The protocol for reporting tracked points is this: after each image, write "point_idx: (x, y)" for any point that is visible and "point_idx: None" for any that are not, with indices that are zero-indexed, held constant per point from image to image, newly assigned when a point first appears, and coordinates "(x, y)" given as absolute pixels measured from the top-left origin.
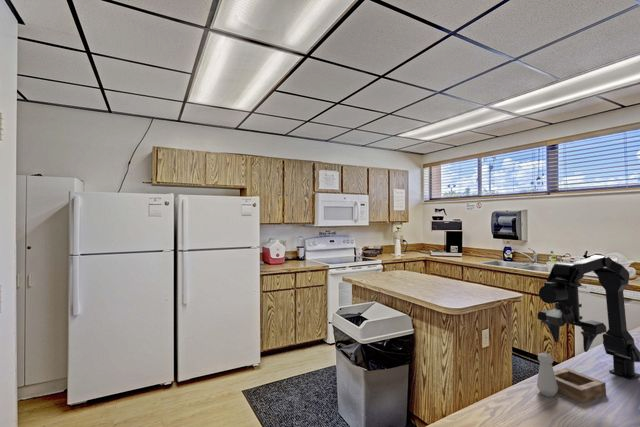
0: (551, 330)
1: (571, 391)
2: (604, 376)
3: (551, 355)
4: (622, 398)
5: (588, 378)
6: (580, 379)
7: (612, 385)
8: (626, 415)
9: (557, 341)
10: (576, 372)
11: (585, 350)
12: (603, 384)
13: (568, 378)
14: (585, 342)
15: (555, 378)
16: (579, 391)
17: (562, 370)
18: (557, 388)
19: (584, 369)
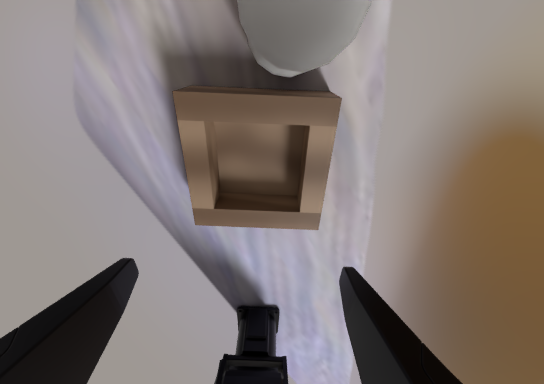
0: (426, 373)
1: (219, 89)
2: (271, 285)
3: (265, 41)
4: (181, 217)
5: (234, 211)
6: (260, 203)
7: (235, 259)
8: (104, 134)
9: (341, 281)
10: (279, 222)
11: (113, 264)
12: (195, 214)
13: (298, 196)
14: (30, 329)
15: (260, 56)
16: (183, 90)
17: (314, 200)
18: (248, 43)
19: (316, 285)
